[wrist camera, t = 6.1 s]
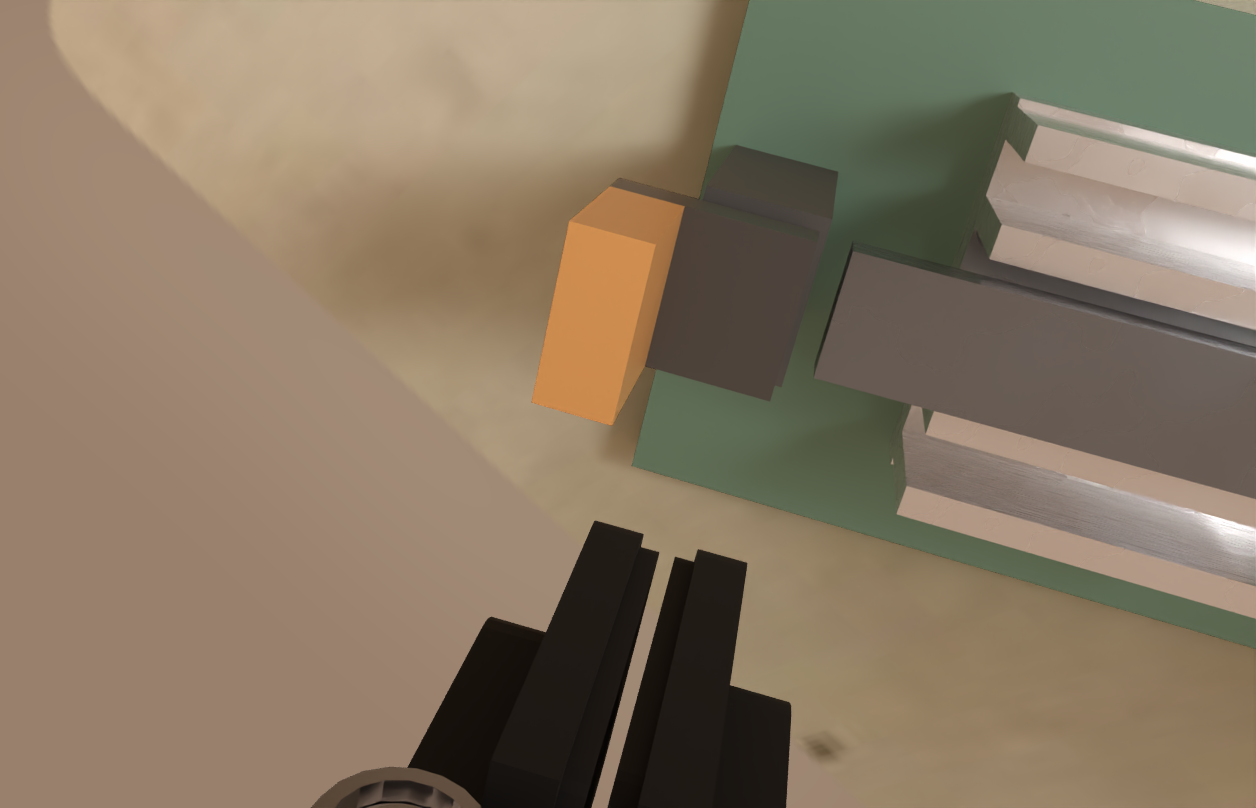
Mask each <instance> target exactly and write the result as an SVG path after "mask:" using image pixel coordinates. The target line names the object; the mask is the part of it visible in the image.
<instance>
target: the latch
mask: <svg viewBox="0 0 1256 808" xmlns="http://www.w3.org/2000/svg"><path fill="white" fill-rule="evenodd" d="M818 238H819V231H815V230H811V229H808V228H804V227H800V226H797V225H793V224H789V223H785V222H782V221H778V220H774V219H771V218H767V217H763V216H759V215H756V214H752V213H748V212H744V211H741V210H737V209H733V208H730V207H726V206H722V205H718V204H715V203H711V202H707V201H703V200H700V199H696V198H692V197H689V196H685V195H681V194H677V193H674V192H670V191H666V190H662V189H659V188H655V187H651V186H648V185H644V184H640V183H636V182H633V181H629V180H625V179H622V178H619V179H618V180H616V181H615V182H614V183H613V184H612V185H611V186H609V187H608V188H607V189H606V190H605V191H604V192H602V193H601V194H600V195H599V196H598V197H597V198H595V199H594V200H593V201H592V202H591V203H590V204H588V205H587V206H586V207H585V208H584V209H583V210H581V211H580V212H579V213H578V214H577V215H576V216H574V217H573V218H572V219H571V220H570V221H569V225H568V229H567V234H566V239H565V244H564V249H563V253H562V258H561V263H560V268H559V273H558V277H557V282H556V287H555V292H554V297H553V302H552V306H551V311H550V316H549V321H548V326H547V330H546V335H545V340H544V345H543V350H542V354H541V359H540V364H539V369H538V374H537V378H536V383H535V388H534V393H533V398H532V402H531V403H535V404H538V405H542V406H545V407H549V408H552V409H556V410H559V411H563V412H566V413H569V414H573V415H576V416H580V417H583V418H587V419H590V420H594V421H597V422H600V423H604V424H607V425H611V426H612V425H613V423H614V421H615V420H616V418H617V416H618V414H619V412H620V411H621V409H622V407H623V405H624V403H625V401H626V400H627V398H628V396H629V394H630V392H631V391H632V389H633V387H634V385H635V383H636V381H637V380H638V378H639V376H640V374H641V372H642V371H643V369H644V367H645V366H646V367H650V368H653V369H657V370H660V371H664V372H667V373H671V374H674V375H678V376H681V377H685V378H688V379H692V380H695V381H699V382H703V383H706V384H710V385H713V386H717V387H720V388H724V389H727V390H731V391H734V392H738V393H741V394H745V395H748V396H752V397H755V398H759V399H762V400H766V401H769V402H770V400H771V397H772V393H773V390H774V387H775V383H776V380H777V377H778V373H779V370H780V367H781V363H782V360H783V357H784V353H785V350H786V347H787V343H788V340H789V337H790V333H791V330H792V327H793V323H794V320H795V317H796V313H797V310H798V307H799V303H800V300H801V297H802V293H803V290H804V287H805V283H806V280H807V277H808V273H809V270H810V267H811V263H812V260H813V257H814V253H815V250H816V247H817V243H818Z"/></svg>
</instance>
